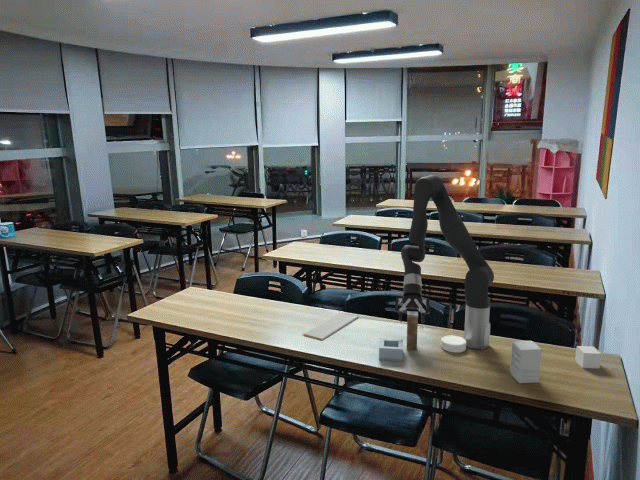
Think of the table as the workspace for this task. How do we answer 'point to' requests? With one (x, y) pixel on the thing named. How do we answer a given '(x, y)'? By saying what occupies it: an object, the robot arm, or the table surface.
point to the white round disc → (453, 344)
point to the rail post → (412, 330)
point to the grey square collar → (391, 349)
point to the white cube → (588, 357)
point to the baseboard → (331, 325)
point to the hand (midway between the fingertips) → (411, 322)
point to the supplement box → (525, 361)
